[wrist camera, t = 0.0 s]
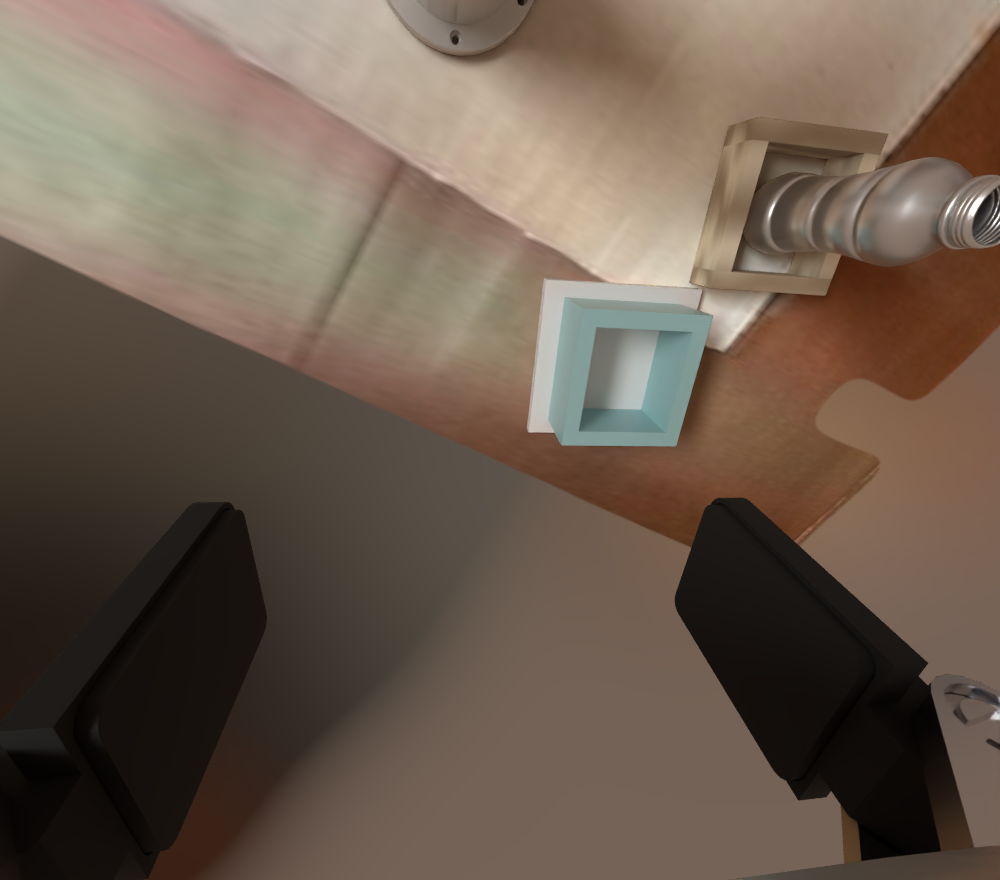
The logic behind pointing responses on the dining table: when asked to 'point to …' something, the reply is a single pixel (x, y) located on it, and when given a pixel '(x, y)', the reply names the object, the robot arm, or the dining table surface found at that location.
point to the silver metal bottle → (877, 212)
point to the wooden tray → (737, 188)
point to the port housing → (615, 362)
